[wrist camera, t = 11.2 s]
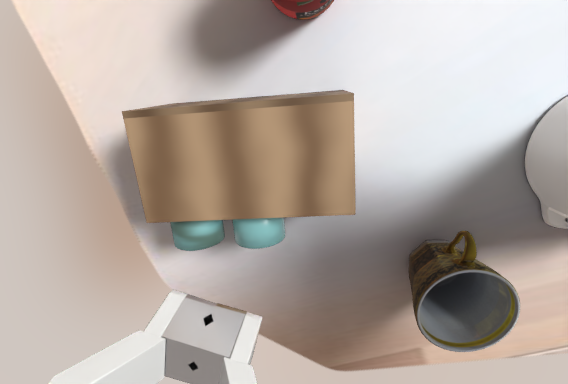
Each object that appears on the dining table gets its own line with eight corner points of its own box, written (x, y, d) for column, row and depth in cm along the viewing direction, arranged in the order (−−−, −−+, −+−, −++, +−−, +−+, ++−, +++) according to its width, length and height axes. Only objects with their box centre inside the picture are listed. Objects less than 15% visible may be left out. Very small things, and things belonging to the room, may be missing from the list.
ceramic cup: (470, 295, 44) (513, 353, 35) (393, 295, 45) (413, 352, 36) (482, 203, 40) (533, 240, 31) (396, 205, 41) (420, 242, 32)
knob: (277, 106, 36) (270, 111, 30) (287, 225, 40) (282, 247, 35) (225, 110, 36) (210, 115, 31) (241, 227, 40) (230, 249, 35)
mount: (342, 90, 38) (353, 93, 27) (345, 213, 42) (356, 256, 32) (172, 103, 40) (121, 111, 29) (193, 219, 44) (155, 261, 34)
